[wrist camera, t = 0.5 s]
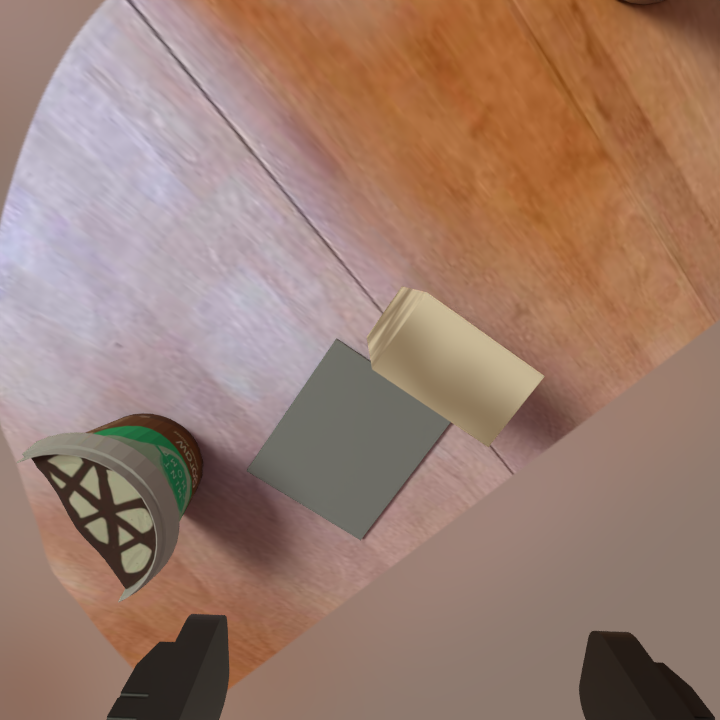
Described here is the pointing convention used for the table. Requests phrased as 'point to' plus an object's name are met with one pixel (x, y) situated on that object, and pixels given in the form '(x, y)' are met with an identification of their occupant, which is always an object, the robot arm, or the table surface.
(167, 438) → the food container
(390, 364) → the ash block
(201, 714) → the robot arm
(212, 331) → the table surface
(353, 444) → the mat
